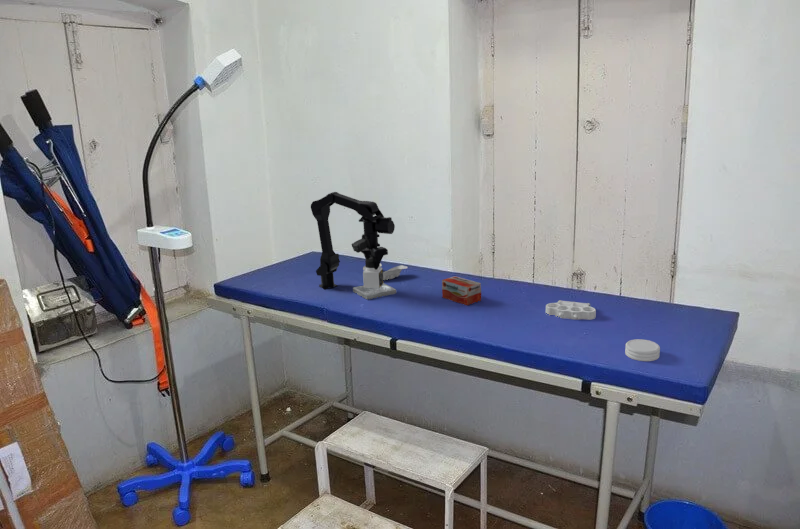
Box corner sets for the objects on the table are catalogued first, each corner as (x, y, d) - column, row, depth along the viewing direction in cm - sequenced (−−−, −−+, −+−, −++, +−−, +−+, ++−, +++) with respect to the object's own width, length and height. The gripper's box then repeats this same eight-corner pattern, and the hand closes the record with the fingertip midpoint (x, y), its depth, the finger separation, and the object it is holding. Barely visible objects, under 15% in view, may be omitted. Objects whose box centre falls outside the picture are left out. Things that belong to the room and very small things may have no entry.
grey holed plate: (598, 310, 223) (592, 324, 211) (550, 305, 231) (542, 318, 218) (599, 302, 222) (593, 315, 210) (551, 297, 230) (542, 309, 218)
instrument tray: (353, 291, 259) (352, 287, 258) (381, 285, 265) (381, 281, 265) (367, 299, 247) (366, 295, 247) (396, 293, 254) (396, 289, 253)
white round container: (652, 365, 177) (653, 354, 176) (619, 356, 183) (620, 346, 183) (664, 353, 184) (664, 343, 183) (632, 346, 191) (632, 336, 190)
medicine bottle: (379, 288, 251) (378, 261, 248) (363, 287, 253) (361, 260, 250) (383, 283, 258) (382, 256, 255) (367, 282, 260) (366, 256, 256)
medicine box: (481, 301, 239) (481, 282, 237) (467, 306, 234) (467, 287, 232) (455, 293, 250) (454, 275, 248) (441, 298, 245) (440, 279, 243)
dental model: (350, 279, 278) (349, 269, 277) (372, 270, 292) (371, 260, 290) (389, 285, 265) (389, 275, 264) (411, 275, 279) (410, 265, 277)
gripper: (344, 231, 253) (346, 266, 257) (363, 239, 237) (365, 276, 242) (367, 227, 258) (369, 261, 263) (387, 235, 243) (389, 271, 247)
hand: (372, 267), depth 253 cm, fingers closed on medicine bottle, 6 cm apart
